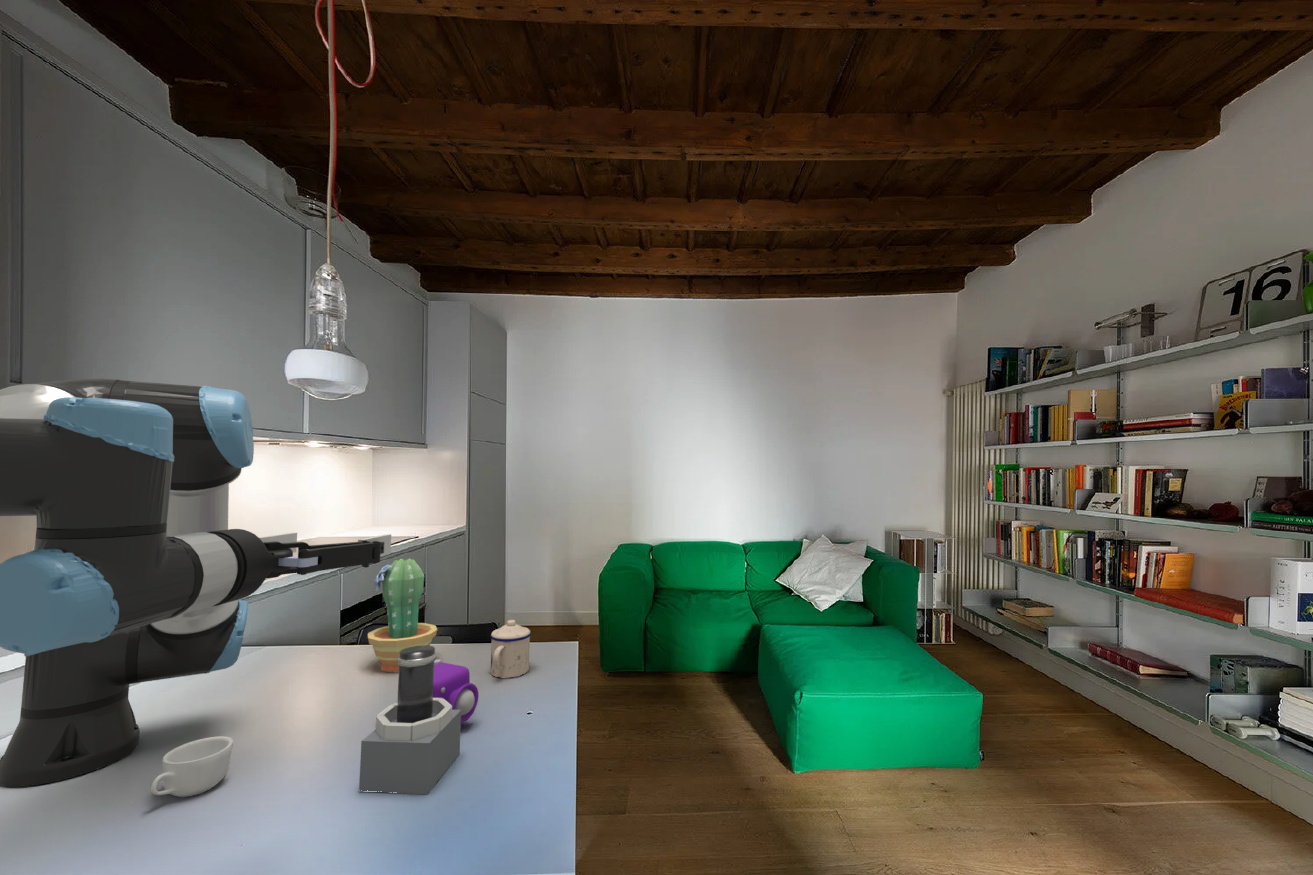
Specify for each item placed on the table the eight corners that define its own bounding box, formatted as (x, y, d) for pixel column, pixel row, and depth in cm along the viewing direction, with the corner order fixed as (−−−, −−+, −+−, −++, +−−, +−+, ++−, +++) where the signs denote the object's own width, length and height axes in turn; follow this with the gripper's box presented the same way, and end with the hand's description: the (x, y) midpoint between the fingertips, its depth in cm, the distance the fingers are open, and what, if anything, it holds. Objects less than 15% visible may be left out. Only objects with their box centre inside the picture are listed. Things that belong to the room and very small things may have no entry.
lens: (387, 731, 79) (391, 654, 80) (407, 716, 84) (410, 644, 85) (421, 732, 78) (424, 655, 80) (439, 717, 84) (442, 645, 85)
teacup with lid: (501, 663, 128) (502, 614, 129) (536, 666, 127) (537, 616, 128) (475, 682, 117) (477, 628, 118) (513, 685, 115) (515, 630, 116)
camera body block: (358, 791, 76) (362, 726, 76) (399, 752, 87) (402, 695, 87) (427, 794, 75) (430, 728, 76) (459, 754, 86) (461, 697, 87)
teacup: (200, 771, 81) (203, 734, 81) (244, 775, 80) (246, 738, 80) (125, 811, 71) (129, 769, 71) (174, 817, 70) (177, 774, 70)
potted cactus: (398, 652, 136) (402, 553, 138) (449, 657, 132) (453, 556, 134) (348, 673, 121) (354, 562, 124) (405, 680, 117) (410, 565, 119)
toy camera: (457, 741, 90) (459, 681, 91) (387, 733, 93) (390, 674, 94) (489, 714, 101) (491, 660, 102) (425, 707, 104) (428, 655, 104)
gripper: (84, 604, 53) (253, 568, 75) (324, 610, 52) (426, 572, 73) (91, 529, 54) (257, 514, 75) (328, 534, 53) (429, 517, 74)
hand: (341, 543), depth 74 cm, fingers open, 13 cm apart
